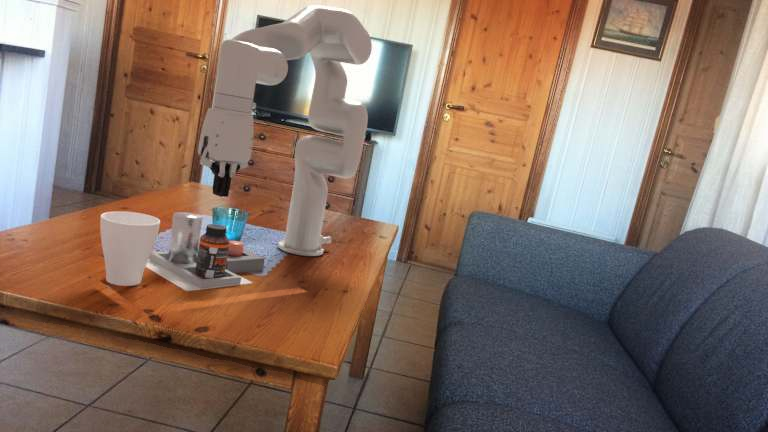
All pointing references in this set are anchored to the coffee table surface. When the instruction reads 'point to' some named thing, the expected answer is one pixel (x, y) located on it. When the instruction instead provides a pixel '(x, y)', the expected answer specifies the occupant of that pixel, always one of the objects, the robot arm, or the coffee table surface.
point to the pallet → (189, 274)
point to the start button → (235, 249)
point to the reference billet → (184, 238)
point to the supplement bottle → (212, 252)
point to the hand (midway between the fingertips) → (220, 195)
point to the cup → (127, 245)
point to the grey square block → (245, 262)
